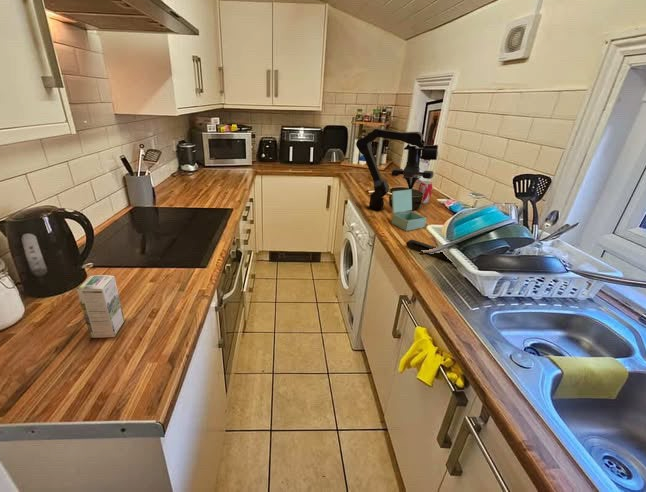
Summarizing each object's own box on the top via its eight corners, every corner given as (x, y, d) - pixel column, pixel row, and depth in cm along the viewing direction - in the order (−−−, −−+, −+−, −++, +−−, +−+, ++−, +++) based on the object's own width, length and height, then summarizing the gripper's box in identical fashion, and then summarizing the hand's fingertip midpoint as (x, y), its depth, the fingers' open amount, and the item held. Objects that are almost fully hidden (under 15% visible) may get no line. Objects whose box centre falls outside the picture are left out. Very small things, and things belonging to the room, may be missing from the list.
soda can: (430, 204, 170) (434, 184, 166) (417, 203, 172) (421, 183, 167) (427, 200, 177) (432, 181, 172) (415, 199, 178) (419, 180, 173)
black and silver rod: (405, 246, 122) (406, 240, 121) (408, 244, 124) (409, 238, 123) (452, 263, 111) (453, 256, 110) (454, 260, 113) (456, 253, 112)
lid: (411, 189, 145) (410, 189, 145) (393, 191, 140) (391, 191, 141) (412, 210, 146) (410, 209, 147) (393, 213, 142) (392, 213, 142)
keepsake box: (424, 227, 141) (426, 217, 139) (405, 231, 136) (407, 221, 134) (409, 219, 149) (411, 210, 147) (391, 223, 144) (392, 213, 142)
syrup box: (102, 322, 78) (88, 274, 72) (126, 321, 78) (114, 274, 73) (90, 338, 73) (74, 289, 67) (115, 337, 73) (102, 288, 67)
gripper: (389, 160, 143) (386, 192, 149) (430, 163, 133) (426, 196, 139) (395, 157, 152) (393, 187, 157) (435, 159, 142) (431, 191, 148)
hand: (410, 190), depth 150 cm, fingers closed
